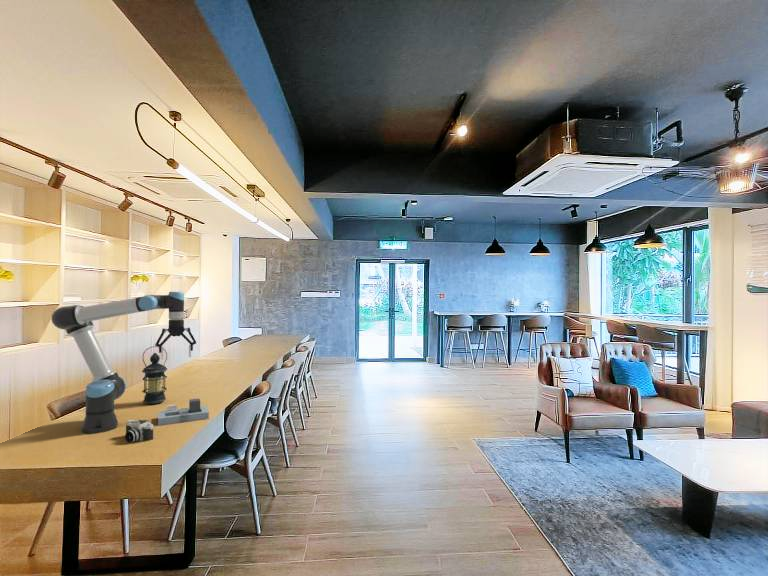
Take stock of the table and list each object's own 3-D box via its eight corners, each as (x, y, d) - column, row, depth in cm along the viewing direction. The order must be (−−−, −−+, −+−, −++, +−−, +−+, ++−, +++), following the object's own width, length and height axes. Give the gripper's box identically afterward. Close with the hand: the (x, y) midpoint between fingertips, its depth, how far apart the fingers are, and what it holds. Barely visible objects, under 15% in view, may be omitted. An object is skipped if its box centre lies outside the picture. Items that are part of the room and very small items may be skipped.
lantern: (137, 406, 243) (137, 348, 243) (147, 400, 256) (147, 345, 256) (162, 405, 244) (162, 347, 244) (171, 399, 258) (171, 344, 258)
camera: (114, 441, 188) (114, 420, 188) (132, 435, 196) (132, 414, 196) (139, 446, 182) (139, 424, 182) (156, 439, 190) (156, 418, 190)
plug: (190, 420, 218) (190, 401, 218) (189, 417, 223) (189, 399, 223) (200, 418, 221) (200, 400, 221) (199, 416, 225) (199, 398, 225)
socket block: (158, 426, 208) (158, 413, 208) (158, 418, 220) (158, 405, 220) (208, 419, 219) (208, 406, 219) (206, 412, 232) (206, 400, 232)
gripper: (150, 320, 214) (149, 360, 214) (201, 319, 226) (201, 357, 226) (150, 319, 221) (150, 358, 221) (200, 318, 233) (200, 355, 233)
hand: (176, 357), depth 224 cm, fingers open, 13 cm apart
